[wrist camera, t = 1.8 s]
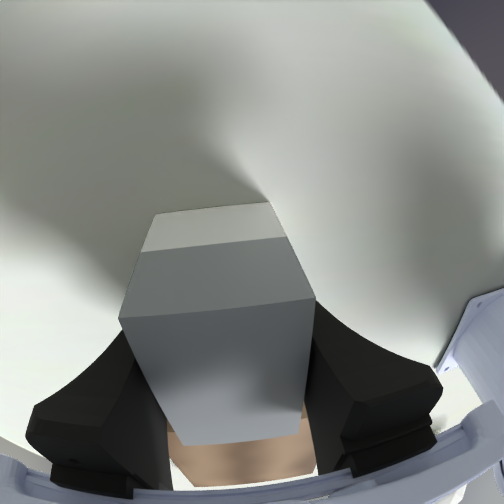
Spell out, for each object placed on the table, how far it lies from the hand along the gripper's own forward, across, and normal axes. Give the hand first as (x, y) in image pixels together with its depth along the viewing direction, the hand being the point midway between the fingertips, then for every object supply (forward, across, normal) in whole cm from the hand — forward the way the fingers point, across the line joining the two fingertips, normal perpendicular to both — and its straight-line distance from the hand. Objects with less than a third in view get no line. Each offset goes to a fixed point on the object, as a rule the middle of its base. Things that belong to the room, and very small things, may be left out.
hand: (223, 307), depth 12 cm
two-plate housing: (+2, 0, 0) cm, 2 cm away
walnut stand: (+2, 0, +17) cm, 17 cm away
